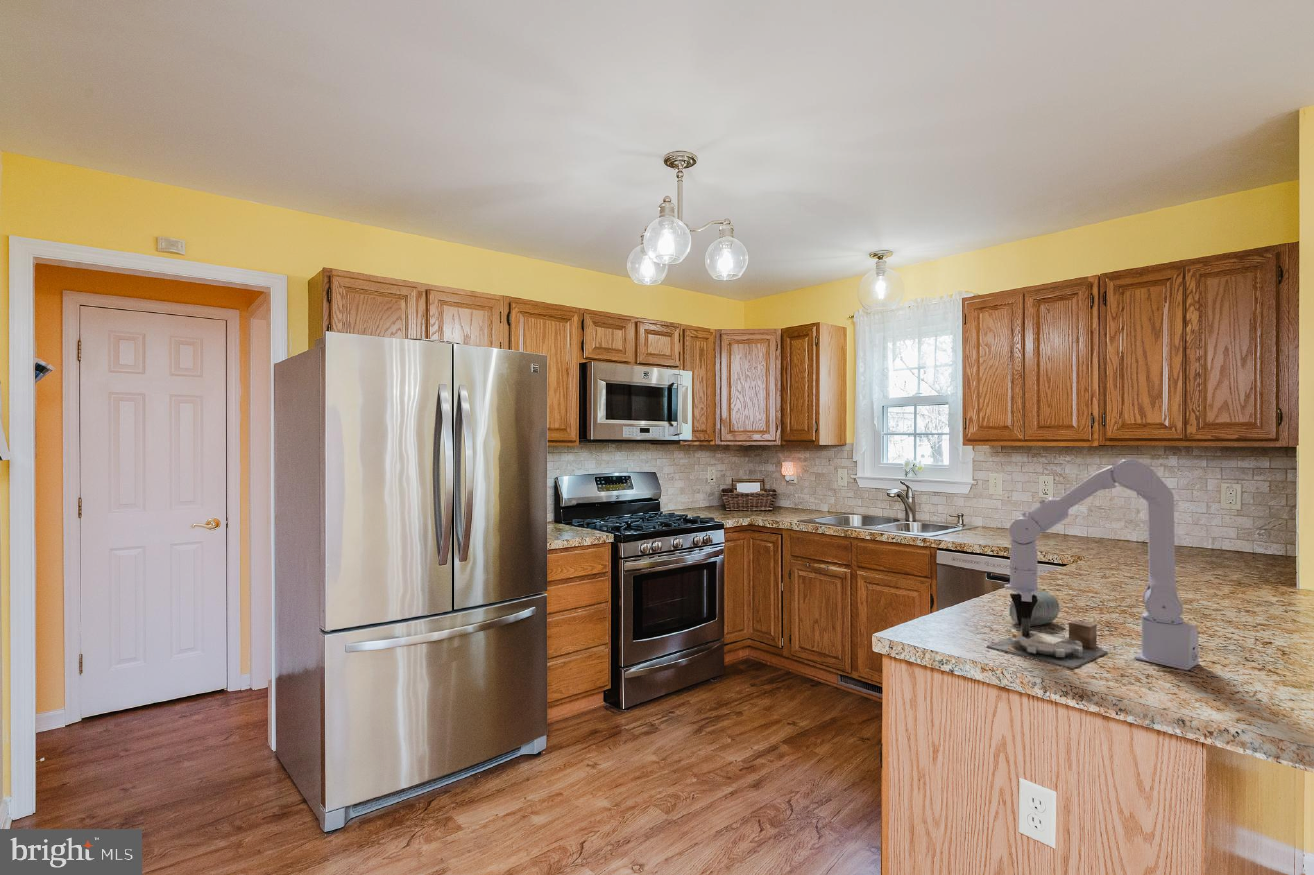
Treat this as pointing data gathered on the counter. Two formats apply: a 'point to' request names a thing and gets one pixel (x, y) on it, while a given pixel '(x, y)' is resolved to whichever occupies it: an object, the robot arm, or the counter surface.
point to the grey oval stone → (1040, 609)
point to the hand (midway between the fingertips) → (1023, 625)
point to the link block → (1083, 633)
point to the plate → (1066, 661)
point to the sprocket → (1045, 642)
